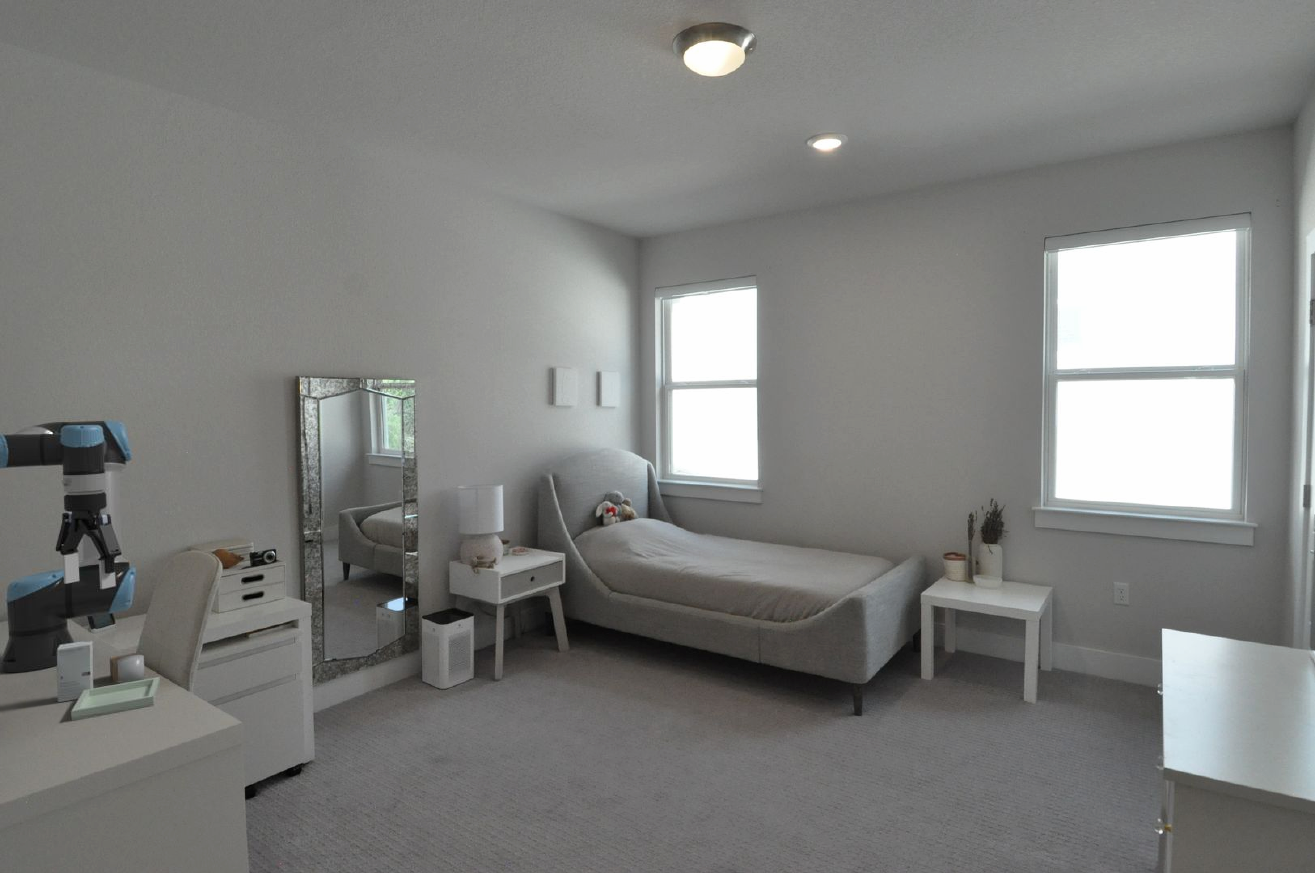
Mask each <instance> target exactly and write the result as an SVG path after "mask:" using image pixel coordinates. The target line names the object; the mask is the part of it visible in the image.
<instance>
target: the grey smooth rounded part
mask: <svg viewBox="0 0 1315 873" xmlns="http://www.w3.org/2000/svg"><path fill="white" fill-rule="evenodd" d="M144 658H145V656H144V655H143V654H136V655H132V656H127V657H123V658H121V659H119V660H118V680H119V682H118V684H122V683H128V682H134V681H139V680H145V679H146V678H145V659H144Z"/></svg>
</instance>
